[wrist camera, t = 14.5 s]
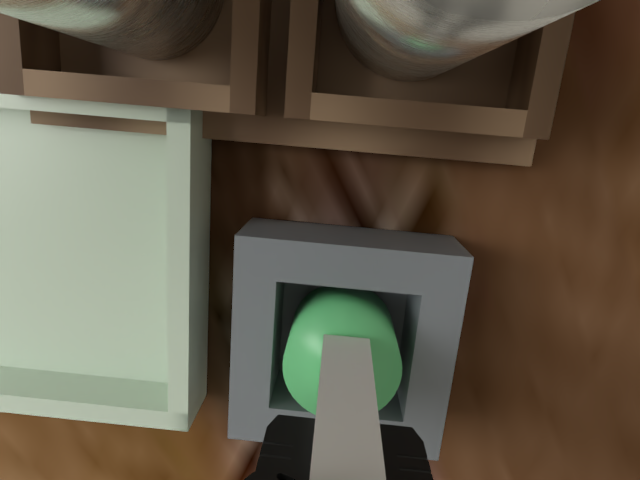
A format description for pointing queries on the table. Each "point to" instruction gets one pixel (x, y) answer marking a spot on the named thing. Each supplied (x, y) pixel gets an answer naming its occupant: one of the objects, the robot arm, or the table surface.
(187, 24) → the cylinder
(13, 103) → the tray
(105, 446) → the table surface
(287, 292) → the grey square button housing
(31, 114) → the tray
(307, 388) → the button
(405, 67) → the cylinder
